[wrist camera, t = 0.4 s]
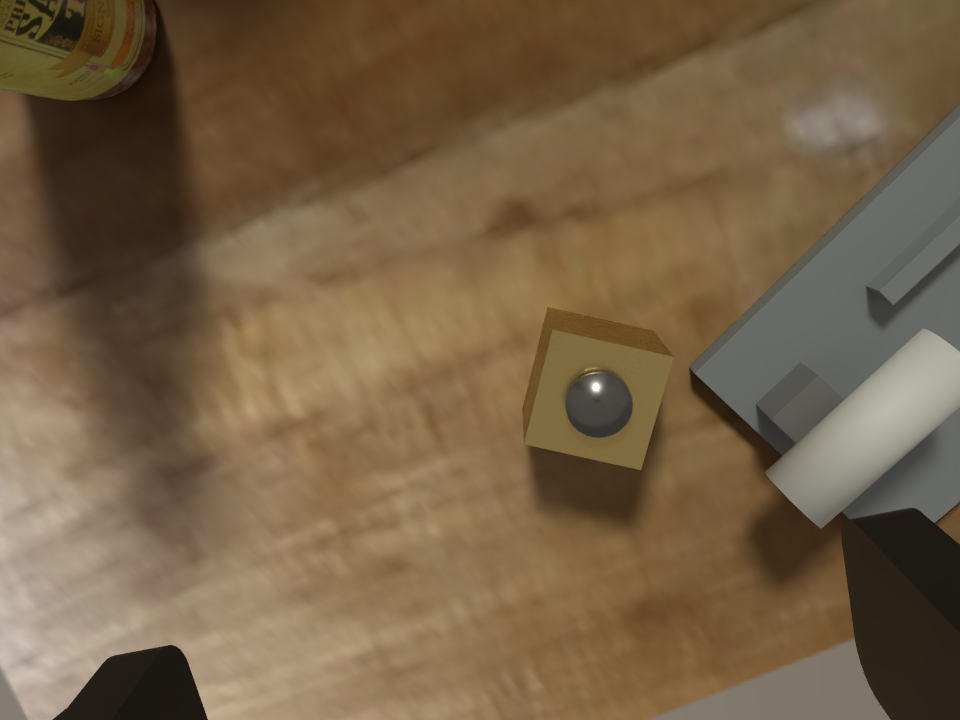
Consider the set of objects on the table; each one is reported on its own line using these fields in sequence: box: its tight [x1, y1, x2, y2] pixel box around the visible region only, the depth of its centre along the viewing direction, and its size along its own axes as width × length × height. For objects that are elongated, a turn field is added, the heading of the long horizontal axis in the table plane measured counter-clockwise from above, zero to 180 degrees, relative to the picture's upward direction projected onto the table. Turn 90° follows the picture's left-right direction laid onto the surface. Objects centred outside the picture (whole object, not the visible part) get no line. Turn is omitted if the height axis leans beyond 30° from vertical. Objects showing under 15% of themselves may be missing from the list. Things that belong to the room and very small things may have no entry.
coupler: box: [523, 307, 674, 470], centre depth 32 cm, size 4×4×5 cm
